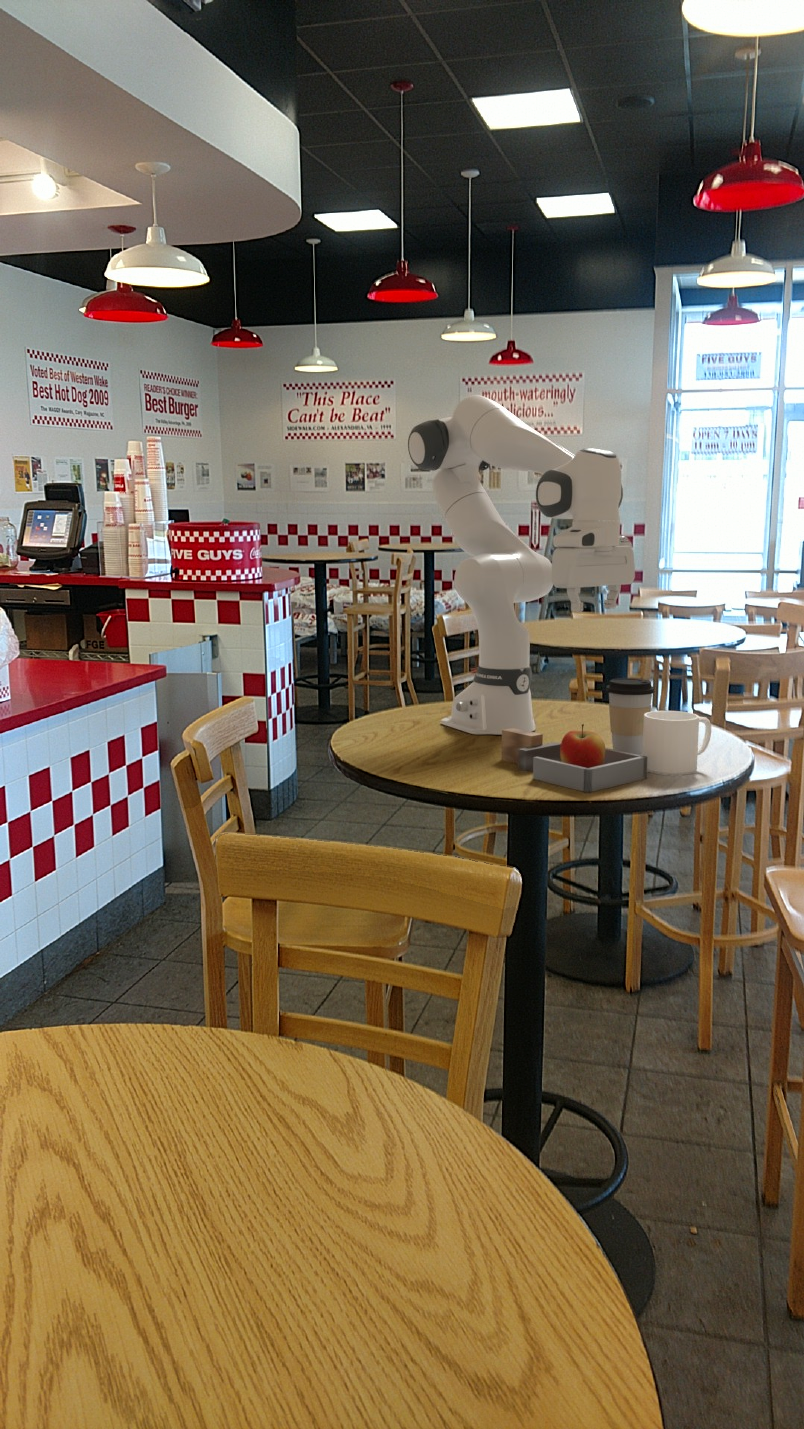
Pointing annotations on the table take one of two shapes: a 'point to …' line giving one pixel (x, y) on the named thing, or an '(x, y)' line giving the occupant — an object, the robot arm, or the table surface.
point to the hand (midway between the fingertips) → (593, 610)
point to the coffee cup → (628, 712)
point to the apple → (582, 749)
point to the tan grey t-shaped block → (527, 748)
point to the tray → (592, 771)
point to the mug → (673, 741)
